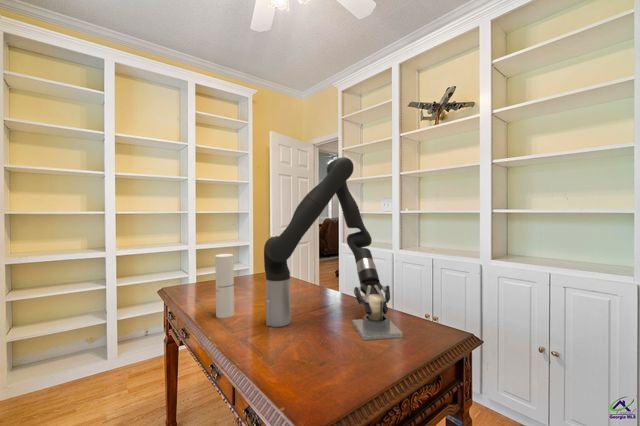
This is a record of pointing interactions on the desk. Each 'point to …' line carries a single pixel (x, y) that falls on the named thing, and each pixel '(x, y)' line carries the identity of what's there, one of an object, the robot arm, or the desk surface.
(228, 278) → the cylindrical container
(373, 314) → the cream rounded cylinder
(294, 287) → the desk surface
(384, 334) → the socket plate
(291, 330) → the desk surface
